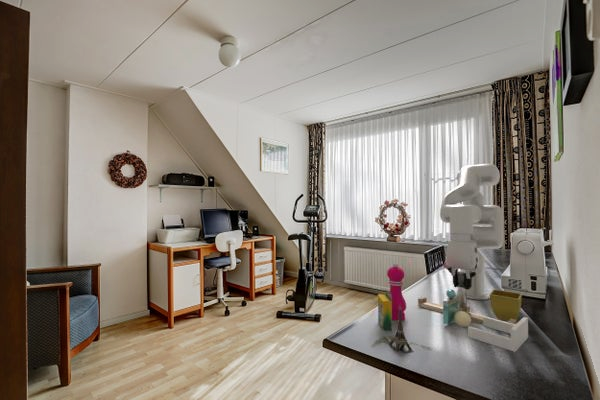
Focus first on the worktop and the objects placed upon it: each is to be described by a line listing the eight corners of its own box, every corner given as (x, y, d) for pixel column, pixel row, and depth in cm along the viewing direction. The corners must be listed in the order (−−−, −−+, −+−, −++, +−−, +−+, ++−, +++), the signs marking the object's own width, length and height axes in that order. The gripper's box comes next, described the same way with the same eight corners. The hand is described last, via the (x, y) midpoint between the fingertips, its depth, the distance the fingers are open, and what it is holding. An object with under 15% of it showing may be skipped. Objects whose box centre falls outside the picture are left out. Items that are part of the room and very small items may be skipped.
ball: (468, 308, 97) (476, 323, 95) (455, 311, 101) (462, 326, 99) (462, 311, 94) (470, 327, 92) (448, 314, 97) (456, 329, 96)
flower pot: (489, 318, 103) (488, 293, 103) (493, 312, 109) (493, 288, 110) (519, 325, 97) (519, 299, 97) (522, 318, 103) (522, 293, 104)
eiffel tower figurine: (433, 350, 81) (433, 303, 82) (424, 366, 73) (424, 314, 74) (382, 335, 90) (382, 293, 91) (369, 348, 82) (369, 302, 83)
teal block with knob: (458, 311, 108) (458, 270, 108) (470, 314, 105) (469, 272, 105) (439, 322, 98) (439, 277, 98) (451, 325, 95) (451, 279, 95)
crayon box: (377, 322, 100) (377, 288, 100) (386, 322, 100) (386, 289, 100) (383, 331, 93) (382, 295, 93) (392, 331, 93) (392, 295, 93)
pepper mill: (408, 322, 100) (407, 265, 100) (386, 320, 101) (386, 264, 102) (404, 314, 107) (404, 261, 107) (384, 313, 108) (384, 260, 109)
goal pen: (484, 324, 98) (484, 307, 98) (528, 337, 88) (527, 317, 88) (468, 336, 89) (467, 317, 89) (515, 351, 79) (514, 330, 80)
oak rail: (423, 303, 119) (422, 296, 119) (516, 329, 94) (516, 320, 94) (418, 305, 116) (418, 298, 116) (513, 332, 92) (512, 323, 92)
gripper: (490, 239, 102) (491, 291, 101) (443, 235, 115) (444, 281, 114) (482, 241, 97) (483, 295, 97) (434, 237, 110) (435, 284, 110)
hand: (462, 287), depth 105 cm, fingers closed on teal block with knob, 3 cm apart
